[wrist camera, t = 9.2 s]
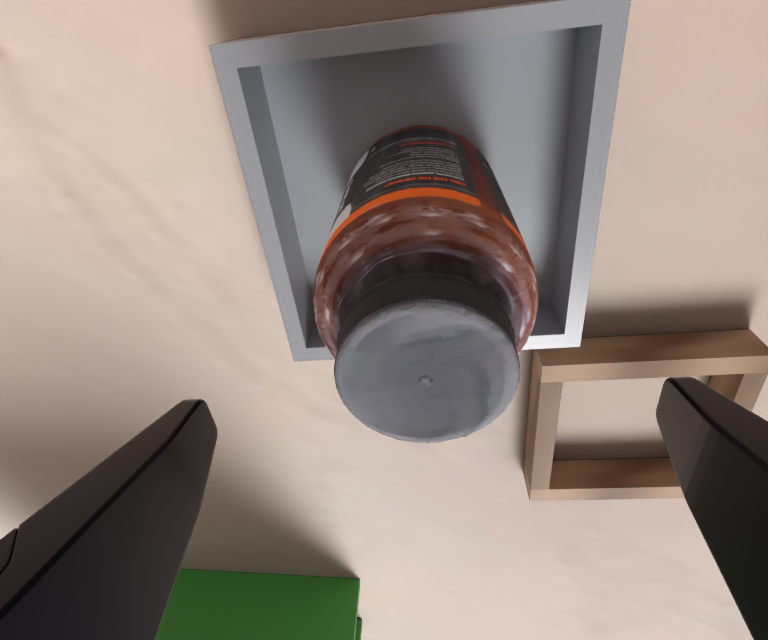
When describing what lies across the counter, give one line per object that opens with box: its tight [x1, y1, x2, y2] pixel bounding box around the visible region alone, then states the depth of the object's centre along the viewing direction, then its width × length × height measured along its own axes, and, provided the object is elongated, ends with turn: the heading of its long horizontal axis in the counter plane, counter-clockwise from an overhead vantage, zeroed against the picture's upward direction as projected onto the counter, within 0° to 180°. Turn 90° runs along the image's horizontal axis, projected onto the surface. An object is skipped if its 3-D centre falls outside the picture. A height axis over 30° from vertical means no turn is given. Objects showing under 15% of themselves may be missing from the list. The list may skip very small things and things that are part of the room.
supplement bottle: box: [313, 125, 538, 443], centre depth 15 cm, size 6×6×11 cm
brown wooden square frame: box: [523, 329, 768, 501], centre depth 25 cm, size 10×10×2 cm
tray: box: [209, 0, 631, 362], centre depth 19 cm, size 12×12×3 cm
